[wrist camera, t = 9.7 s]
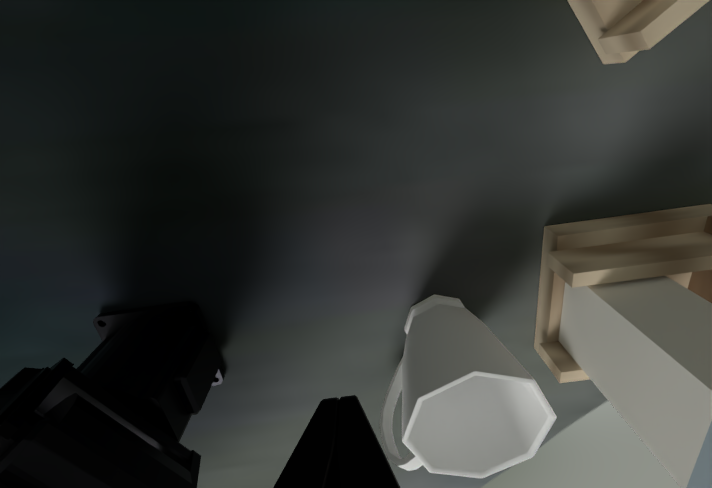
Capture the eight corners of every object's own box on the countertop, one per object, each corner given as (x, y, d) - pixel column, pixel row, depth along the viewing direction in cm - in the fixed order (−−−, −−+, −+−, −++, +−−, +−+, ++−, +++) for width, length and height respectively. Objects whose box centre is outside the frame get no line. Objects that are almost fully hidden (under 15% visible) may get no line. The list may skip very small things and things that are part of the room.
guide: (526, 348, 25) (573, 416, 20) (535, 227, 21) (595, 272, 16) (675, 329, 24) (761, 393, 19) (710, 203, 21) (827, 241, 16)
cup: (513, 309, 23) (591, 413, 16) (417, 404, 26) (445, 527, 19) (429, 255, 22) (473, 344, 14) (338, 364, 25) (335, 483, 17)
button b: (558, 340, 22) (713, 527, 13) (566, 269, 20) (758, 429, 11) (624, 332, 22) (829, 514, 13) (639, 260, 20) (896, 413, 11)
